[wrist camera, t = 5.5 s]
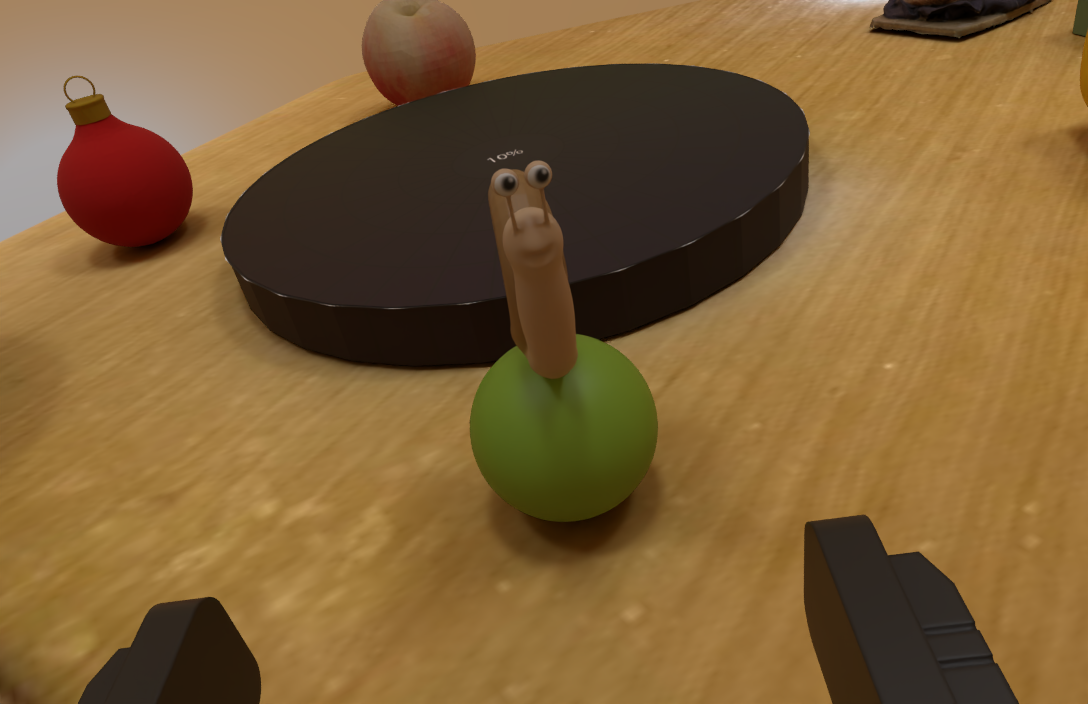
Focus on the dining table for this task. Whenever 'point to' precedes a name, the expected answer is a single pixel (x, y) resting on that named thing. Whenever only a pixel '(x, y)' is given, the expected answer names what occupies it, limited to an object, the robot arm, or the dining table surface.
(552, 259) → the snail figurine
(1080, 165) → the dining table surface
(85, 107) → the christmas ornament
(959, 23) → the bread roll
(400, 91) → the fruit
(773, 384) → the dining table surface
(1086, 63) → the duckling
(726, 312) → the dining table surface
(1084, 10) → the green block
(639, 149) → the disc
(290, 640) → the dining table surface
